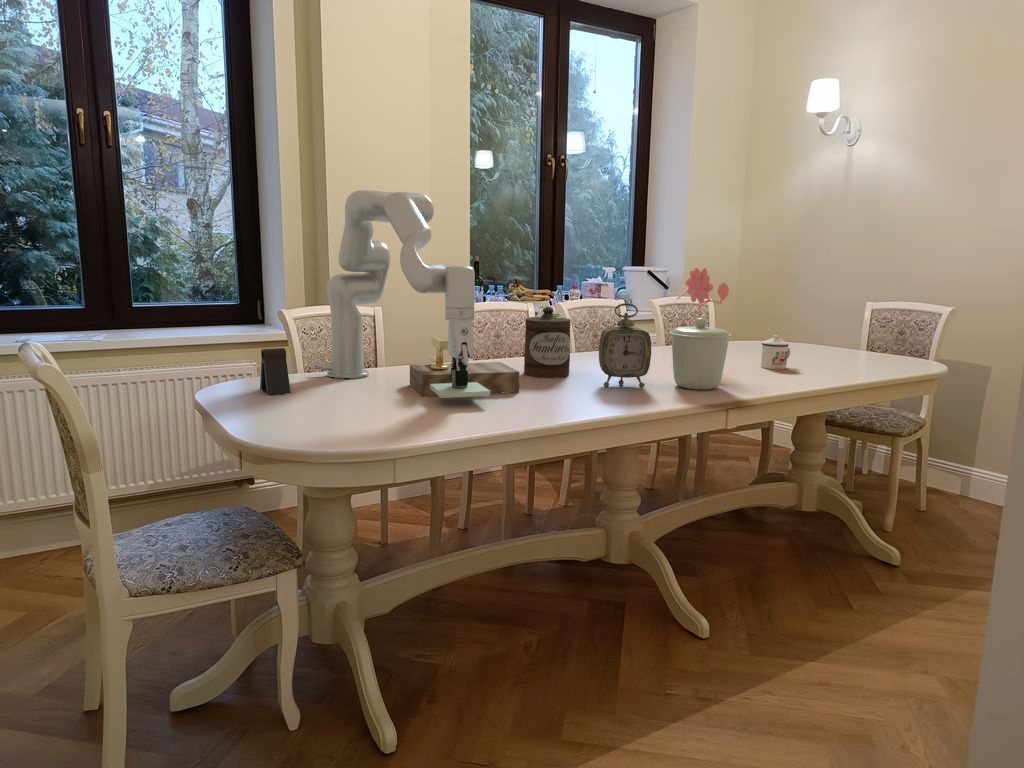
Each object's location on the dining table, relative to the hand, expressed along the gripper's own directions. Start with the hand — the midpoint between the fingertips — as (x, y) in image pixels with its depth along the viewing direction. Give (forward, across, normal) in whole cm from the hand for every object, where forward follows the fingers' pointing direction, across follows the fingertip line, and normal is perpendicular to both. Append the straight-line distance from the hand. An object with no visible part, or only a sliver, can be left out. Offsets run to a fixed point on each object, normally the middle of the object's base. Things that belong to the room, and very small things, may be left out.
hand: (459, 383), depth 195 cm
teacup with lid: (+5, +35, -126) cm, 131 cm away
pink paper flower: (+5, +42, -96) cm, 105 cm away
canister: (+6, +7, -76) cm, 77 cm away
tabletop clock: (+5, +13, -54) cm, 56 cm away
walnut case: (+5, +19, -6) cm, 21 cm away
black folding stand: (+5, +25, +46) cm, 53 cm away
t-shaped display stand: (-1, +21, +1) cm, 22 cm away
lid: (+2, 0, 0) cm, 2 cm away
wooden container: (+5, +38, -39) cm, 55 cm away
